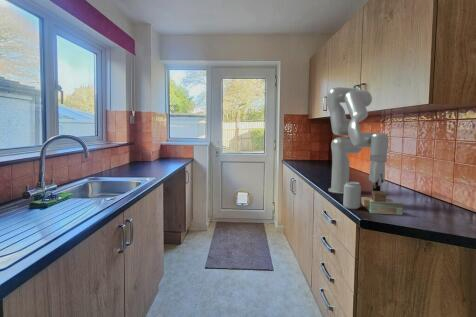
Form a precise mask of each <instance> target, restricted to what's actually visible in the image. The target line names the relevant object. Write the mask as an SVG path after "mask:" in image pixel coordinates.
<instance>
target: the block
mask: <svg viewBox="0 0 476 317" xmlns="http://www.w3.org/2000/svg"><path fill="white" fill-rule="evenodd" d="M371 198H372V200H373V201H377V202H386V198H387V192H385V191H383V190H380V191H373V190H371Z"/></svg>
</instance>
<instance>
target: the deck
mask: <svg viewBox="0 0 476 317" xmlns="http://www.w3.org/2000/svg"><path fill="white" fill-rule="evenodd" d="M360 204H361V205H362V206H363V207H364V208H365V209H366V210H367V211H368V212H369V214H377V215H380V214H381V215H394V216H395V215H398V216H402V215H403V213H404V212H403V211H404V203H403V202H394V200H392V199H391V198H387V197H386V202H377V201H373V200H372V197H365V196H361V201H360Z"/></svg>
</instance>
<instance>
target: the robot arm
mask: <svg viewBox="0 0 476 317" xmlns="http://www.w3.org/2000/svg"><path fill="white" fill-rule="evenodd" d="M371 94H372V93H370V92H369V91H368V90H363V89H360V88H355V87H354V88H353V87H342V86H341V87H339V86H338V87H333V88H330V89H329V90H328V91H327V94H326V105H327V106H326V107H327V108H328V111H329V117H330V125H331V131H332V133H333V135H335V136H338V137H336V138H334V139H332V140H331V143H330V148H331V157H332V159H331V160H332V162H331V163H332V164H331V185H330V187H328V192H330V193H333V194H342V195H344V185H345V184H346V182H350V181H349V180H350V159H349V157H348V154H350V155H351V154H352V155H353V154H355V155H356V154H358V153H361V152H362V148H369V149H370V150H369V162H370V165H369V171H368V172H369V175H368V180H369V181H370V182H372V191H382V190H381V189H382V188H381V187H382V184H384V183H385V180H386V163H387V162H388V149H389V146H388V145H389V135H388V134H387V133H378V132H365V131H364V132H363V131H362V132H361V126H360V122H362V121H363V120H366V118H367V117H368V116H369V113H368V109H367V107H368V106H370V105H371V104H372V102H373V98H372V97H373V96H372V95H371ZM341 103H345V105H346V108H347V110H348V114H349V115H350V116H349V117H350V118H347V116H346V110H345V108H344V107H343V106H342V104H341ZM339 136H340V137H339ZM341 136H342V137H341ZM346 136H348V137H346Z"/></svg>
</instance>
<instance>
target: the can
mask: <svg viewBox="0 0 476 317" xmlns="http://www.w3.org/2000/svg"><path fill="white" fill-rule="evenodd" d="M361 194H362V186H361V182H357V181H349V182H346V184H345V185H344V194H343V196H342V198H343V200H342V201H343V202H342V203H343V204H342V206H343V207H344V208H345V209H349V210H358V209H359V208H360V207H361V199H362V195H361Z"/></svg>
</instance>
